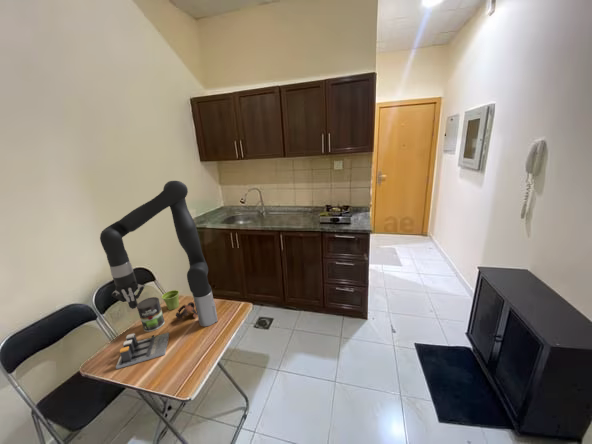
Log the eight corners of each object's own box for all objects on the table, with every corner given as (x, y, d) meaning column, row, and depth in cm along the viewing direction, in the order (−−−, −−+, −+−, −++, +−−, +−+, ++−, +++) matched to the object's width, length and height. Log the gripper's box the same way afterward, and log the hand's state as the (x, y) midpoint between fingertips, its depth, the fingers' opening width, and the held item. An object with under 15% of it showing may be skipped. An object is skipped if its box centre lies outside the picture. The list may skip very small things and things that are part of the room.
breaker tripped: (132, 356, 110) (128, 346, 109) (130, 359, 108) (127, 349, 107) (124, 358, 109) (121, 348, 108) (123, 362, 107) (119, 351, 106)
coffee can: (165, 326, 131) (158, 303, 127) (142, 334, 126) (135, 311, 123) (165, 316, 140) (159, 294, 136) (144, 323, 135) (137, 301, 132)
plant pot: (185, 304, 150) (182, 292, 147) (170, 313, 142) (167, 300, 140) (176, 300, 154) (173, 288, 152) (161, 309, 147) (158, 296, 145)
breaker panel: (169, 335, 124) (168, 330, 123) (165, 354, 112) (163, 350, 111) (126, 347, 119) (124, 342, 118) (116, 369, 106) (114, 364, 105)
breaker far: (137, 342, 118) (134, 333, 117) (136, 345, 116) (133, 336, 115) (130, 344, 118) (127, 335, 116) (129, 347, 116) (125, 338, 114)
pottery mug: (194, 322, 133) (183, 313, 129) (182, 328, 135) (171, 320, 132) (202, 304, 143) (192, 296, 140) (190, 310, 146) (180, 302, 142)
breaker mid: (135, 349, 114) (131, 339, 113) (133, 352, 112) (130, 342, 111) (127, 351, 113) (124, 341, 112) (126, 354, 111) (122, 344, 110)
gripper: (142, 265, 111) (152, 299, 116) (108, 273, 107) (119, 307, 112) (138, 272, 104) (148, 307, 109) (101, 280, 100) (114, 316, 105)
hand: (134, 307), depth 110 cm, fingers closed
